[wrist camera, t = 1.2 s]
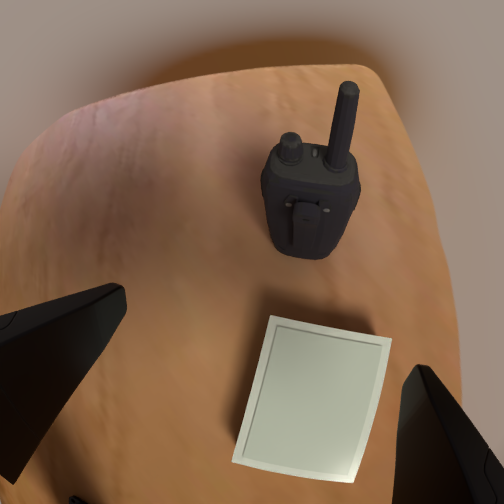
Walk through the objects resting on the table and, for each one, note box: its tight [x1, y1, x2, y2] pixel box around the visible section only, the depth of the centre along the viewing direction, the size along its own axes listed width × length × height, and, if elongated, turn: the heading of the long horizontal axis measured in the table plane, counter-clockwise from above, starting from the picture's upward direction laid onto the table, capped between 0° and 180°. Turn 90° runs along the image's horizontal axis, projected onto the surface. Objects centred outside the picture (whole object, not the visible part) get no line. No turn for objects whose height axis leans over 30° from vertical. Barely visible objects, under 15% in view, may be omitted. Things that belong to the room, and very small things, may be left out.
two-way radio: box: [261, 81, 361, 260], centre depth 16 cm, size 6×4×15 cm
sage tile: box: [231, 315, 392, 483], centre depth 18 cm, size 8×10×3 cm
